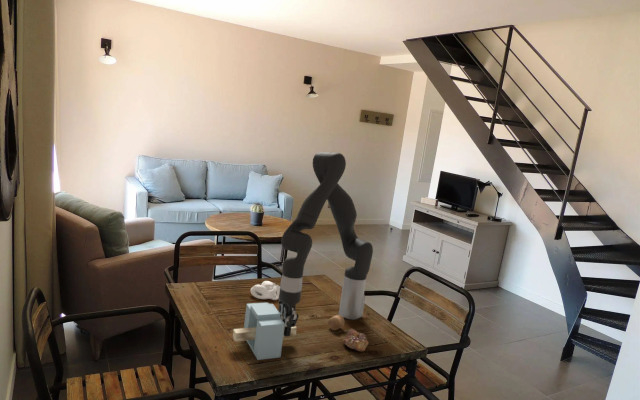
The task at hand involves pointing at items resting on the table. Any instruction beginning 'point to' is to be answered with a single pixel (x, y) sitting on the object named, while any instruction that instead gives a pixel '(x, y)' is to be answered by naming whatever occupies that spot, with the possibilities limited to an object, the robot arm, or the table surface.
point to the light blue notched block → (265, 330)
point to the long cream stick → (252, 333)
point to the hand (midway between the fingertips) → (285, 333)
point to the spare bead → (336, 322)
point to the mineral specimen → (356, 340)
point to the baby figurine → (266, 291)
